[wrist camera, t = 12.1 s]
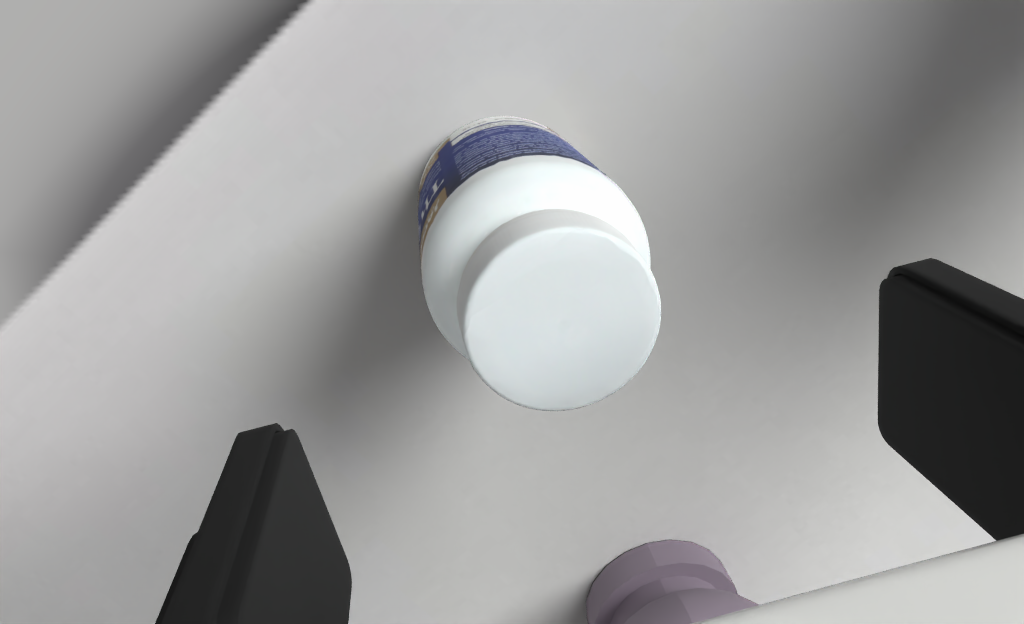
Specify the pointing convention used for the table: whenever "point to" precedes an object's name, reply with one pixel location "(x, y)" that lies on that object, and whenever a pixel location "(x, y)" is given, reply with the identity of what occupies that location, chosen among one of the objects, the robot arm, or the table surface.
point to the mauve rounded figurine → (663, 587)
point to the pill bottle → (535, 265)
